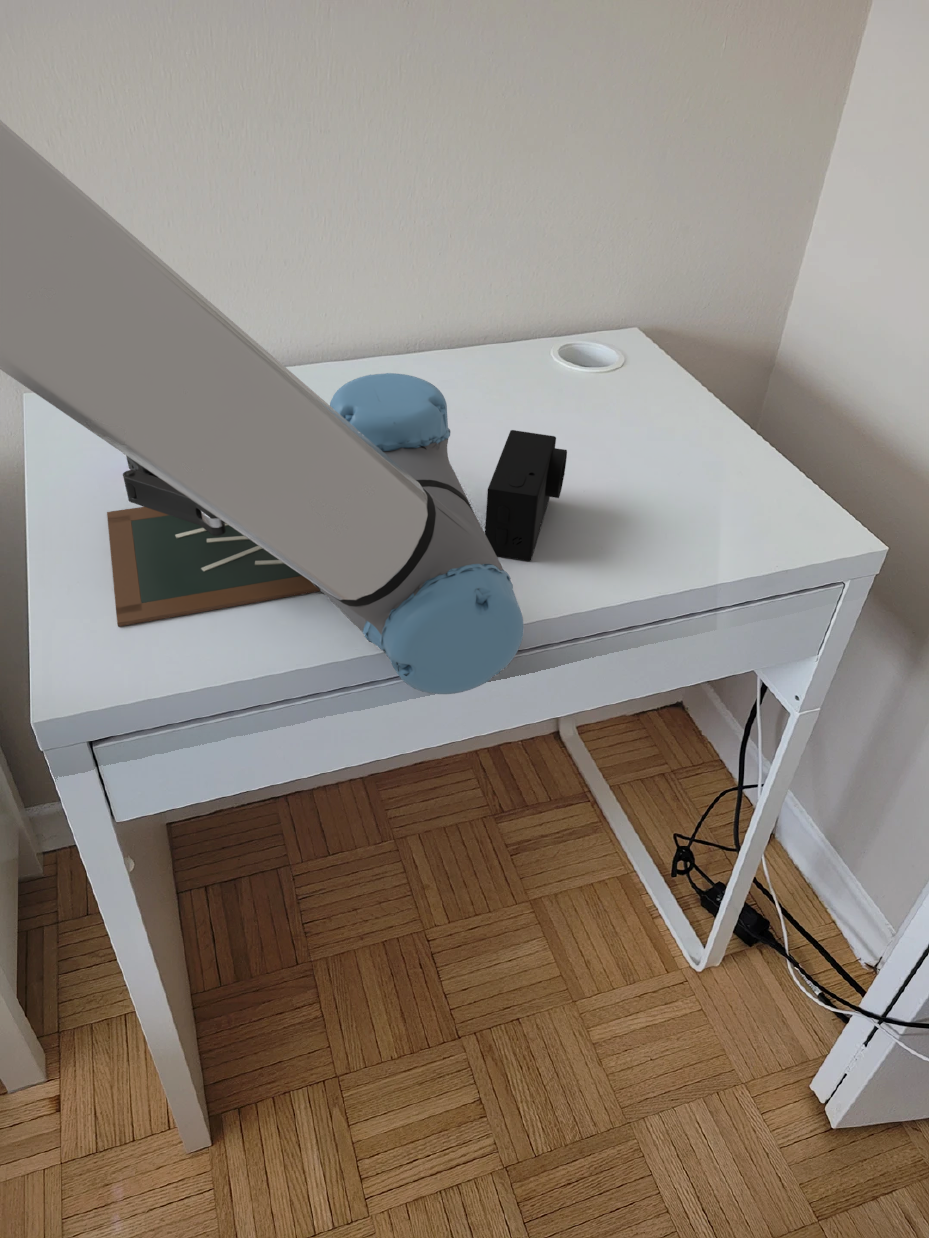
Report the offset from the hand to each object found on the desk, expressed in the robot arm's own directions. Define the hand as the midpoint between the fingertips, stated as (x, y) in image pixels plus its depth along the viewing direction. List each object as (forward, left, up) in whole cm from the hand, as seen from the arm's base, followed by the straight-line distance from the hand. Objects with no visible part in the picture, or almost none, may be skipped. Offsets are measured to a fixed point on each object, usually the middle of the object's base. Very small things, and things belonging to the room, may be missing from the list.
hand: (196, 415), depth 87 cm
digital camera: (+27, -16, -7) cm, 32 cm away
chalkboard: (+2, -12, -7) cm, 14 cm away
